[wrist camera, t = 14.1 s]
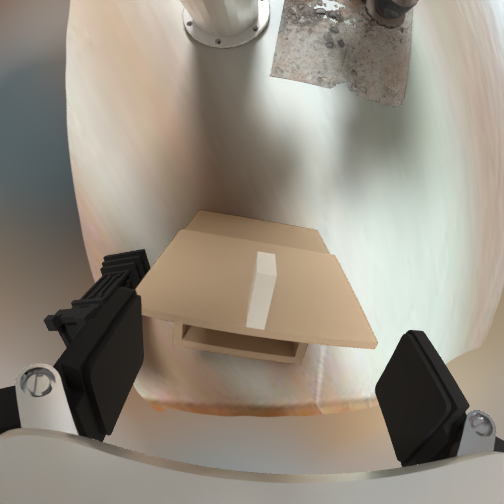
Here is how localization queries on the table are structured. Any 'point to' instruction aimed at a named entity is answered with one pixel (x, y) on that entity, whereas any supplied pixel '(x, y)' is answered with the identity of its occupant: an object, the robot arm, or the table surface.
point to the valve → (347, 46)
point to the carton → (240, 342)
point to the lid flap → (255, 291)
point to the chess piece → (100, 292)
